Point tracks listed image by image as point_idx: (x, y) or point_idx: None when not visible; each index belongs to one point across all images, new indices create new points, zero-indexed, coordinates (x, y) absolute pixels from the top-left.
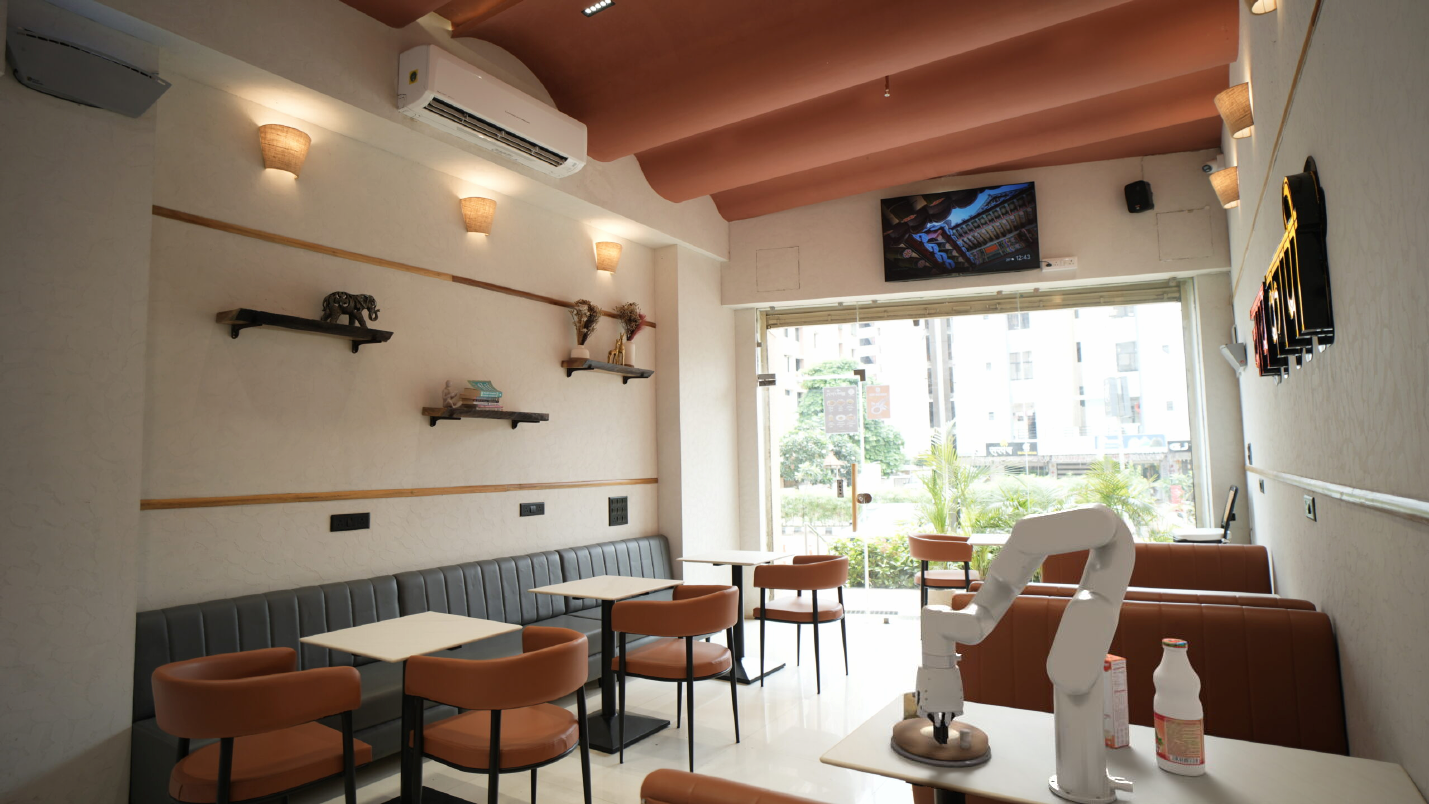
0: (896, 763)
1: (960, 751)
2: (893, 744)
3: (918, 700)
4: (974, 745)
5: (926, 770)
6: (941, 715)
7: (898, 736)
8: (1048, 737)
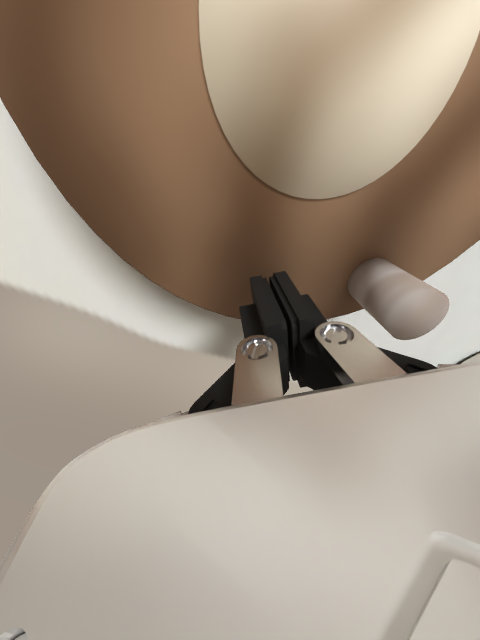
0: (90, 285)
1: (325, 317)
2: None
3: (59, 524)
4: (416, 260)
5: (192, 326)
6: (333, 367)
7: (34, 132)
8: None
